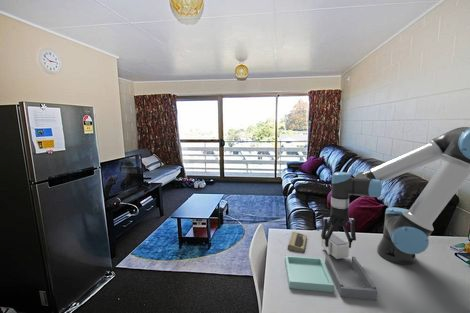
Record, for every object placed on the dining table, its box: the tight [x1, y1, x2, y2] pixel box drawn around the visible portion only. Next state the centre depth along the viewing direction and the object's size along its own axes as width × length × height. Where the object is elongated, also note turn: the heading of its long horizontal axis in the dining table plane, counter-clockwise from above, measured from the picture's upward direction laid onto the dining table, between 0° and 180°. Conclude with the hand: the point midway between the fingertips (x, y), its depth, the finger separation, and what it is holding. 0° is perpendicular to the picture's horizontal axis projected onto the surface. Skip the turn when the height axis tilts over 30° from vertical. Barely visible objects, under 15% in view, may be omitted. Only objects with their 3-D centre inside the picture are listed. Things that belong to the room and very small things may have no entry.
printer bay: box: [324, 254, 378, 301], centre depth 96 cm, size 12×21×4 cm, turn 174°
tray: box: [284, 255, 335, 293], centre depth 99 cm, size 16×18×3 cm
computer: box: [287, 231, 308, 253], centre depth 125 cm, size 16×8×3 cm, turn 159°
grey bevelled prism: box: [320, 232, 350, 260], centre depth 114 cm, size 6×12×6 cm, turn 14°
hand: (337, 253), depth 112 cm, fingers closed on grey bevelled prism, 7 cm apart
